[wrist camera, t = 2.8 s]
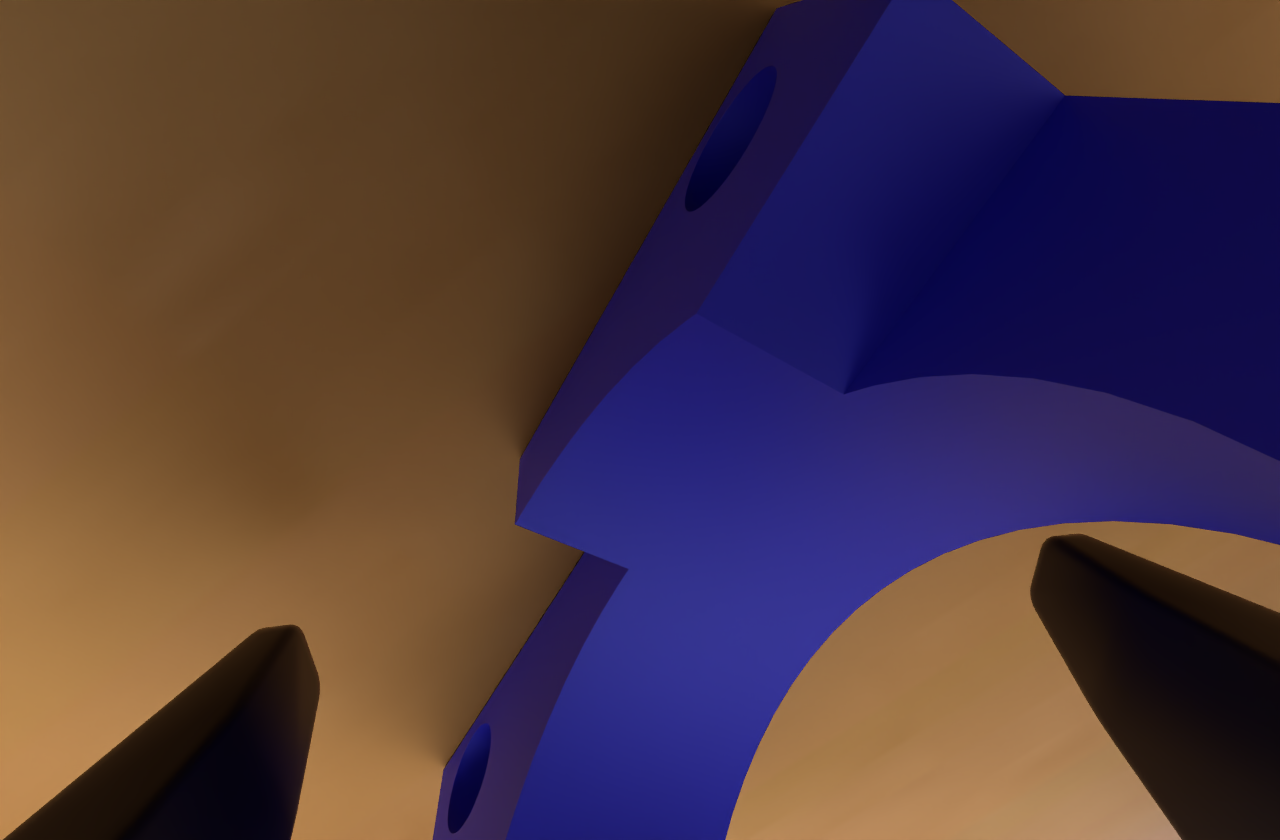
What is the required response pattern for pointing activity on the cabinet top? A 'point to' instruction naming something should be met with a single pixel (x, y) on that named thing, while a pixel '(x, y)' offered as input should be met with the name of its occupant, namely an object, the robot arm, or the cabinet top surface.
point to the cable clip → (870, 392)
